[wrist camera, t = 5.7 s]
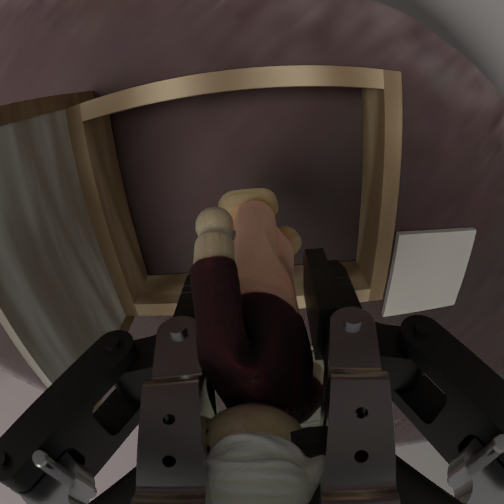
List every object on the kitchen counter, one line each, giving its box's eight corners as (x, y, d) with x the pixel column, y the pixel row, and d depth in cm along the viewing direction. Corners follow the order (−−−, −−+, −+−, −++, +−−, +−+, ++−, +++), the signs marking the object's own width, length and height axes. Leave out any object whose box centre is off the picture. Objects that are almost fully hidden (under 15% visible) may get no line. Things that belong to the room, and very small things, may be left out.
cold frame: (375, 60, 16) (525, 50, 4) (366, 280, 26) (424, 414, 13) (82, 94, 17) (-70, 133, 5) (134, 295, 27) (80, 424, 14)
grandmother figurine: (181, 202, 14) (28, 483, 3) (243, 149, 12) (120, 517, 1) (282, 305, 16) (284, 551, 6) (341, 268, 15) (403, 532, 4)
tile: (473, 227, 23) (476, 230, 22) (451, 301, 27) (453, 304, 27) (396, 231, 23) (399, 235, 23) (381, 313, 28) (383, 316, 27)
